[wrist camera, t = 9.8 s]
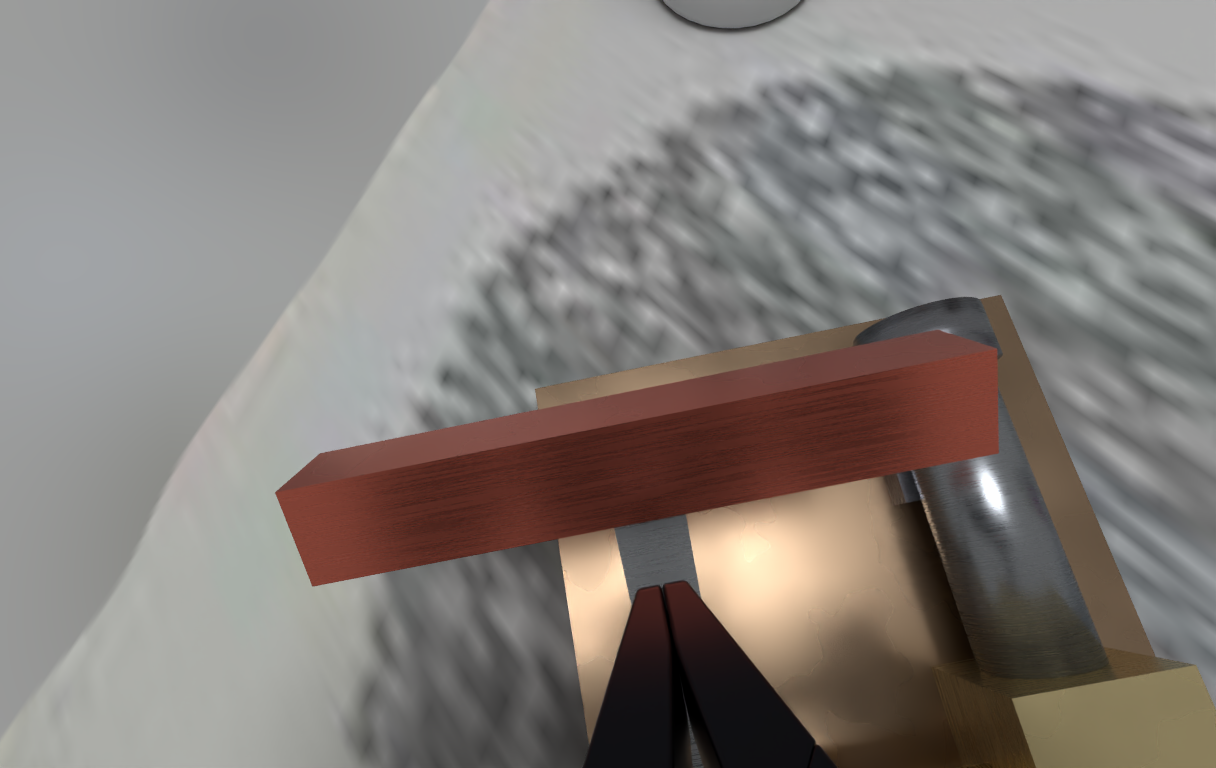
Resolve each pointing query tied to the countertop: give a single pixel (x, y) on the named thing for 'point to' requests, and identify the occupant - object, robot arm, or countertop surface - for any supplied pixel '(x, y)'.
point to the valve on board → (920, 591)
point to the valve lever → (645, 461)
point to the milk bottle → (731, 11)
